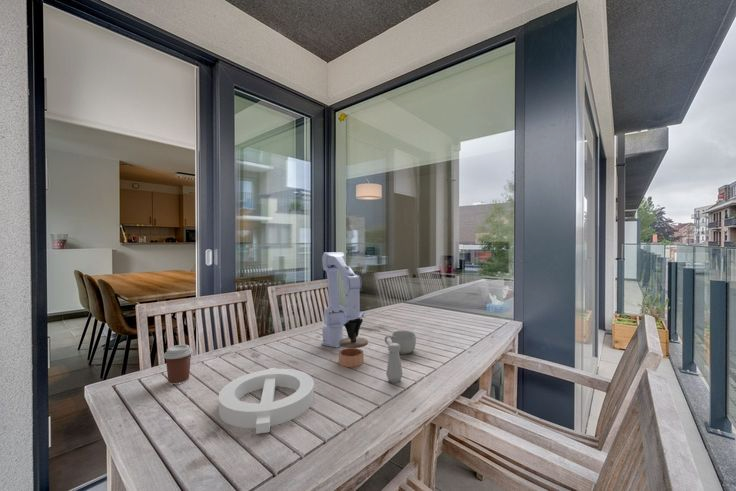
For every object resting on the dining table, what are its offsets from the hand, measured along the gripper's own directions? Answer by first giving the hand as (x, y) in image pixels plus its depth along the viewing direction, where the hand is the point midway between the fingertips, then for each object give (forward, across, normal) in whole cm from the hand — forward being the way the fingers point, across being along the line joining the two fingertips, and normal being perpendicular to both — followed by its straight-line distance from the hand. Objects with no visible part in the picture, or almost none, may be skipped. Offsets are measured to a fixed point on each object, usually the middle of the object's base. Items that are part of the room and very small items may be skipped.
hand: (353, 337), depth 131 cm
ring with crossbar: (+10, -41, +4) cm, 42 cm away
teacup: (+10, +19, -12) cm, 25 cm away
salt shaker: (+10, -8, -23) cm, 26 cm away
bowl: (+10, -2, 0) cm, 10 cm away
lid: (+2, 0, 0) cm, 3 cm away
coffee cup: (+10, -48, +43) cm, 65 cm away
